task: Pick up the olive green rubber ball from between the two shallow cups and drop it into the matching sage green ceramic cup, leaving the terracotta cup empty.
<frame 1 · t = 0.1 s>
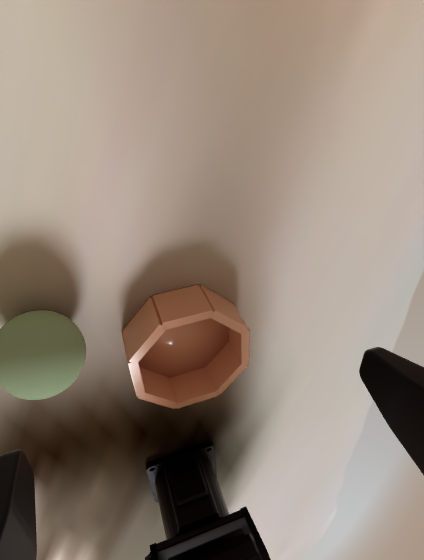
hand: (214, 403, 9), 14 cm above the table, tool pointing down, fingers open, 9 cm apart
terracotta cup: (181, 334, 27), on the table
ball: (39, 354, 21), point 2 cm above the table
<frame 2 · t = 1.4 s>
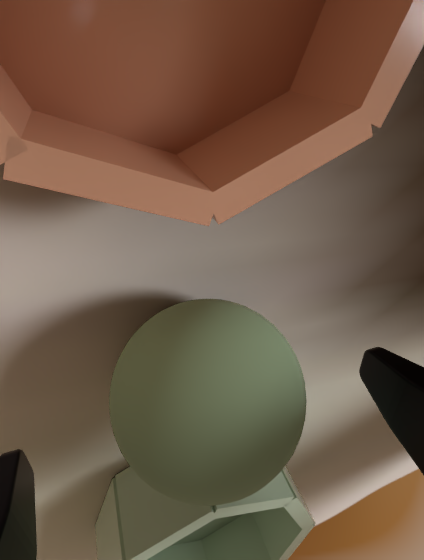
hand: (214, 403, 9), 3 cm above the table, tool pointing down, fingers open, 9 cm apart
ball: (207, 394, 10), point 2 cm above the table
green cup: (194, 491, 17), on the table
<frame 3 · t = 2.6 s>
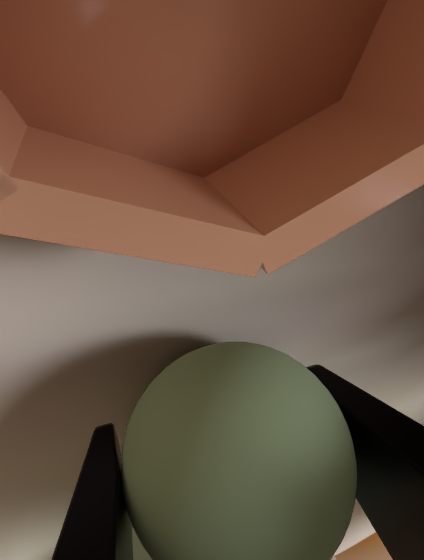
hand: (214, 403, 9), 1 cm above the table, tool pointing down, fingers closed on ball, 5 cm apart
ball: (236, 455, 8), point 2 cm above the table, touching gripper
green cup: (208, 533, 15), on the table
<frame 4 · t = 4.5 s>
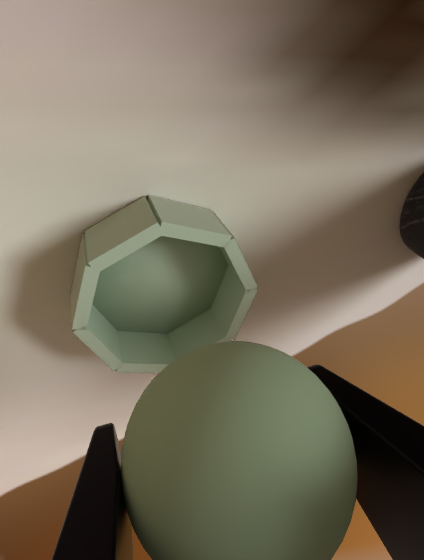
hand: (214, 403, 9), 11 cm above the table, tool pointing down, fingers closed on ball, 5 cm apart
ball: (236, 455, 8), point 12 cm above the table, touching gripper
green cup: (157, 274, 20), on the table
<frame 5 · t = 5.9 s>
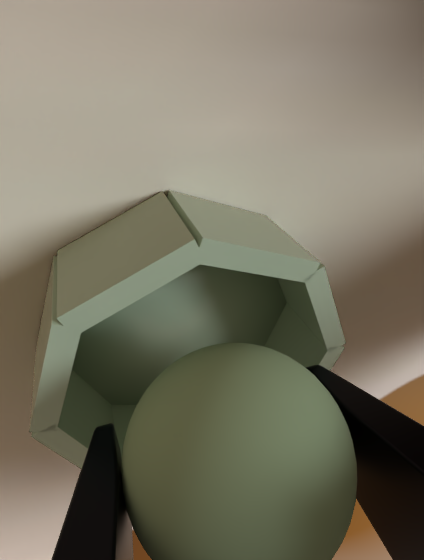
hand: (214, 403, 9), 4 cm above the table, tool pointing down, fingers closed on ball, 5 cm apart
ball: (236, 456, 8), point 5 cm above the table, touching gripper
green cup: (177, 318, 12), on the table
when the fingers open (3 cm above the table, at t = 6.7 s): ball drops 2 cm, resting on green cup.
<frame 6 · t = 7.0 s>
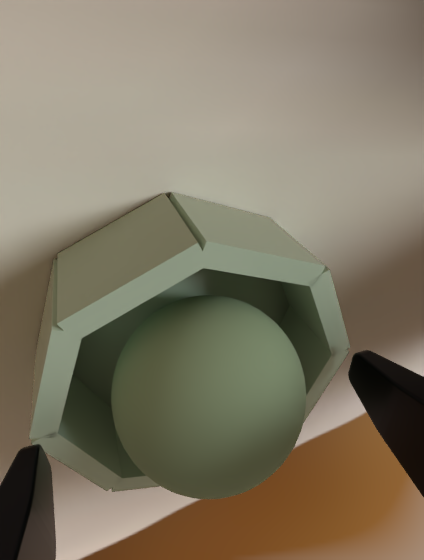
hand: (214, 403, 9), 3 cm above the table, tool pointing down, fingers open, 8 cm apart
ball: (208, 389, 10), point 3 cm above the table, touching green cup
green cup: (179, 321, 12), on the table
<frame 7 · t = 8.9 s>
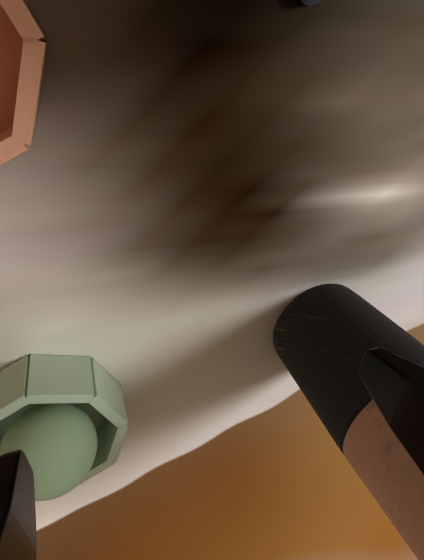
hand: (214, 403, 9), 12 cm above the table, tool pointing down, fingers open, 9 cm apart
ball: (50, 448, 21), point 3 cm above the table, touching green cup
green cup: (49, 406, 23), on the table
travel mug: (314, 322, 28), on the table
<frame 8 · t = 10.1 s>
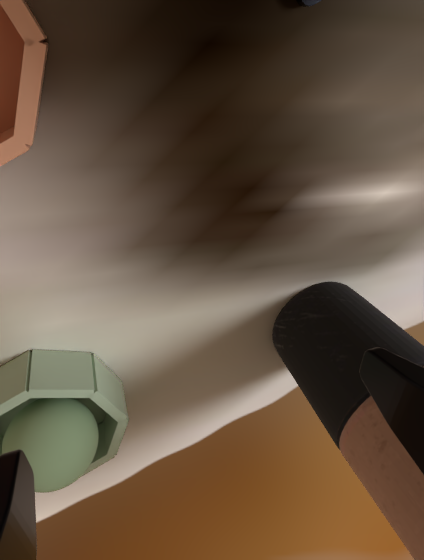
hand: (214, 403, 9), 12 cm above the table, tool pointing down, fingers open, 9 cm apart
ball: (52, 441, 21), point 3 cm above the table, touching green cup
green cup: (51, 401, 23), on the table
travel mug: (313, 320, 28), on the table
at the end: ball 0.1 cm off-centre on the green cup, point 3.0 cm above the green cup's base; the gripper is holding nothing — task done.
